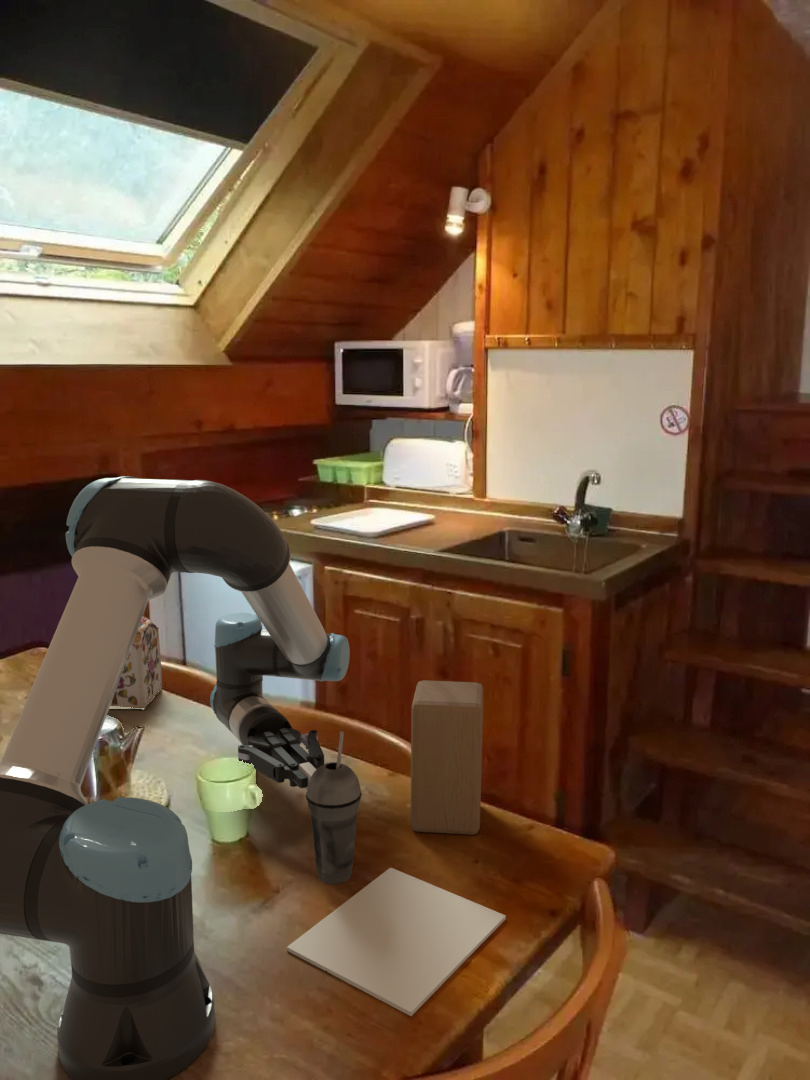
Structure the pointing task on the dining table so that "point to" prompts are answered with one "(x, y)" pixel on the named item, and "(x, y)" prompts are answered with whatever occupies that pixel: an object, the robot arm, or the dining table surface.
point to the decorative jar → (141, 669)
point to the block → (446, 757)
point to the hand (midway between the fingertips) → (323, 791)
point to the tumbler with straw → (334, 818)
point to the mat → (398, 939)
